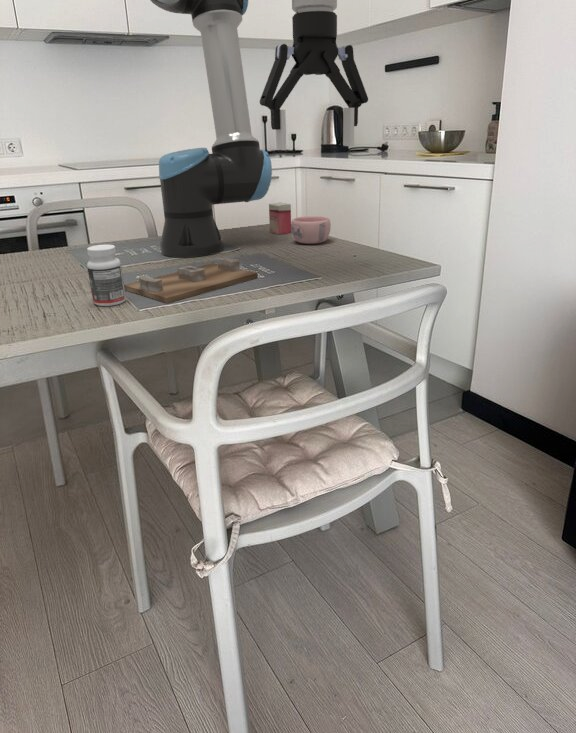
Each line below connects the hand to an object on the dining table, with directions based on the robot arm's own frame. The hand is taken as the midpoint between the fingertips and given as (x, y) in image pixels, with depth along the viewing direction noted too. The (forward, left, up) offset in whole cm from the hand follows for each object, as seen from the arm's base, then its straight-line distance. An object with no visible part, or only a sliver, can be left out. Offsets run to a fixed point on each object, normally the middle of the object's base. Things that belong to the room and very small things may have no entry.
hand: (315, 148), depth 105 cm
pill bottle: (-18, -35, -24) cm, 47 cm away
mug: (-25, +26, -24) cm, 44 cm away
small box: (-40, +31, -24) cm, 56 cm away
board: (-16, -18, -24) cm, 34 cm away
